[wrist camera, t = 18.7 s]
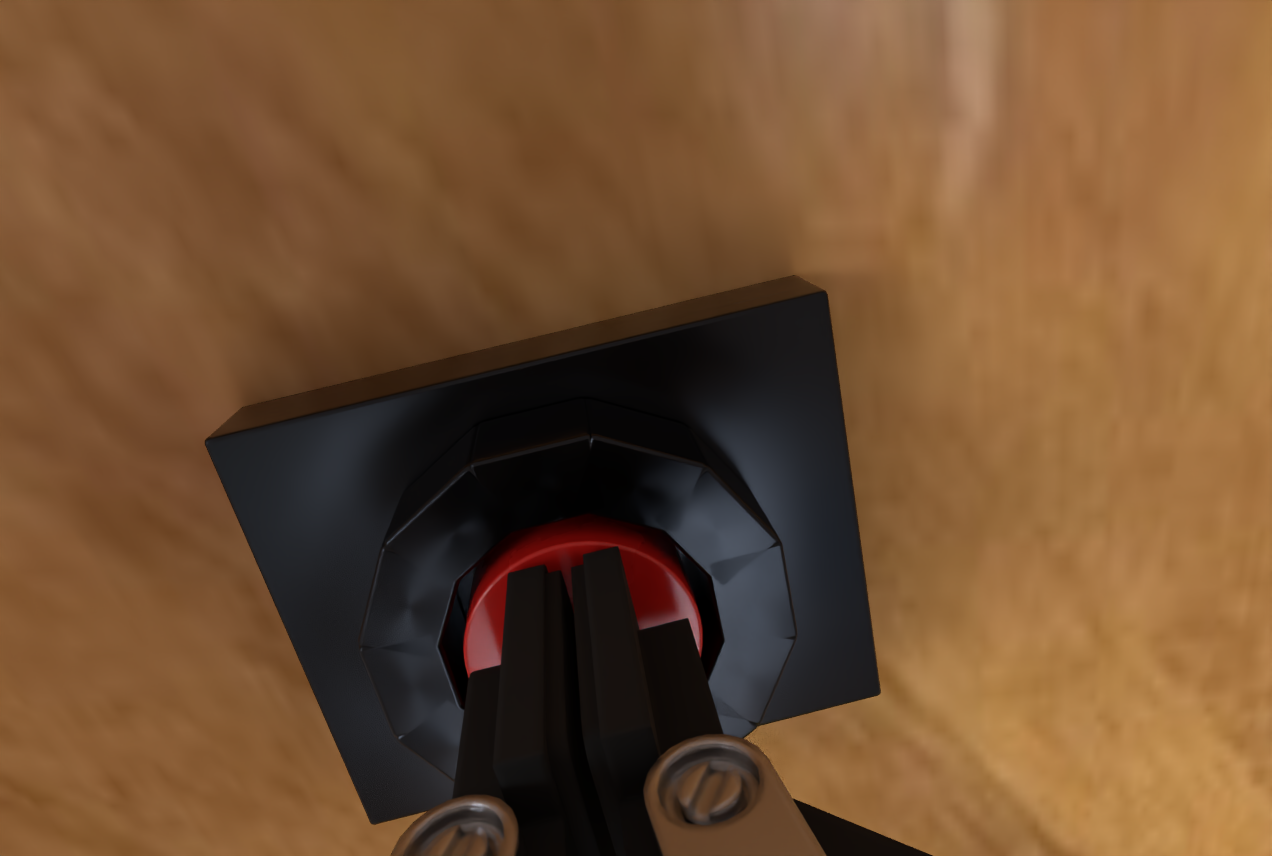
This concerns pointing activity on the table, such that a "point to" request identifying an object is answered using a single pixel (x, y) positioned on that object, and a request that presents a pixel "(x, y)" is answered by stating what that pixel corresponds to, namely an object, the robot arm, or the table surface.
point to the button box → (561, 513)
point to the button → (560, 547)
